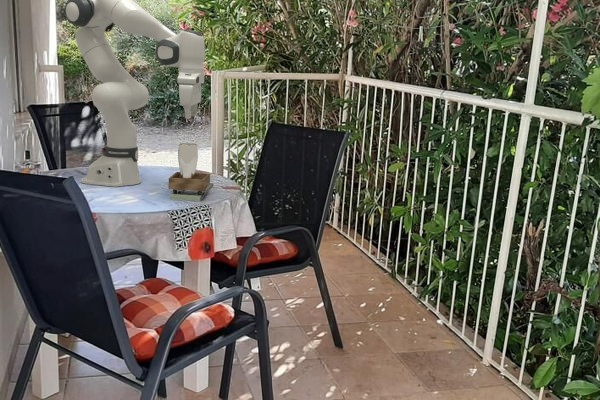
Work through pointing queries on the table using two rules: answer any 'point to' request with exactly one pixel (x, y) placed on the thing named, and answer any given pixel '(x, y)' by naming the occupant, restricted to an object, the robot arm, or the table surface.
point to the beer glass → (187, 160)
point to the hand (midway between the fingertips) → (190, 117)
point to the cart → (189, 182)
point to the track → (190, 195)
